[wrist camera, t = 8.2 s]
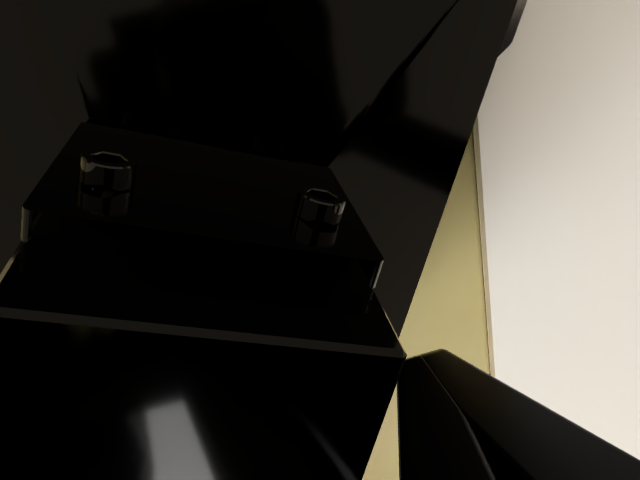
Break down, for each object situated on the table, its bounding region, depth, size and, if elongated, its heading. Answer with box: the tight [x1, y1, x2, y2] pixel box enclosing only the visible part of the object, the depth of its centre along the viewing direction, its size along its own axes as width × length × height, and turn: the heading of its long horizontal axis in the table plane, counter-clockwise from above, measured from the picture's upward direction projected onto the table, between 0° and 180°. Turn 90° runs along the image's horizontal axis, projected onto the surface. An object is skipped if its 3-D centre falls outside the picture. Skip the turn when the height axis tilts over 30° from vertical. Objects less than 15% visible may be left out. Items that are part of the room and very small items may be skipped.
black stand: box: [0, 0, 527, 480], centre depth 7 cm, size 12×7×5 cm, turn 165°
